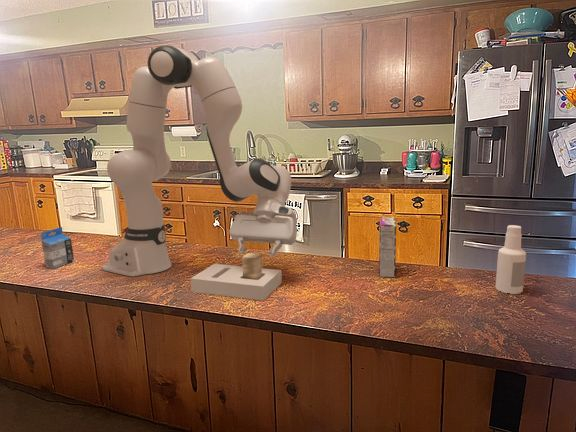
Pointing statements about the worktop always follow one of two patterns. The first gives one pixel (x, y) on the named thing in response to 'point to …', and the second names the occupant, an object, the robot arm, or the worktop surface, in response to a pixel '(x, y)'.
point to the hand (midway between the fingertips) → (256, 253)
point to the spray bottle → (511, 263)
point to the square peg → (252, 266)
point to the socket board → (235, 282)
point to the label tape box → (56, 248)
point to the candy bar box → (387, 247)
